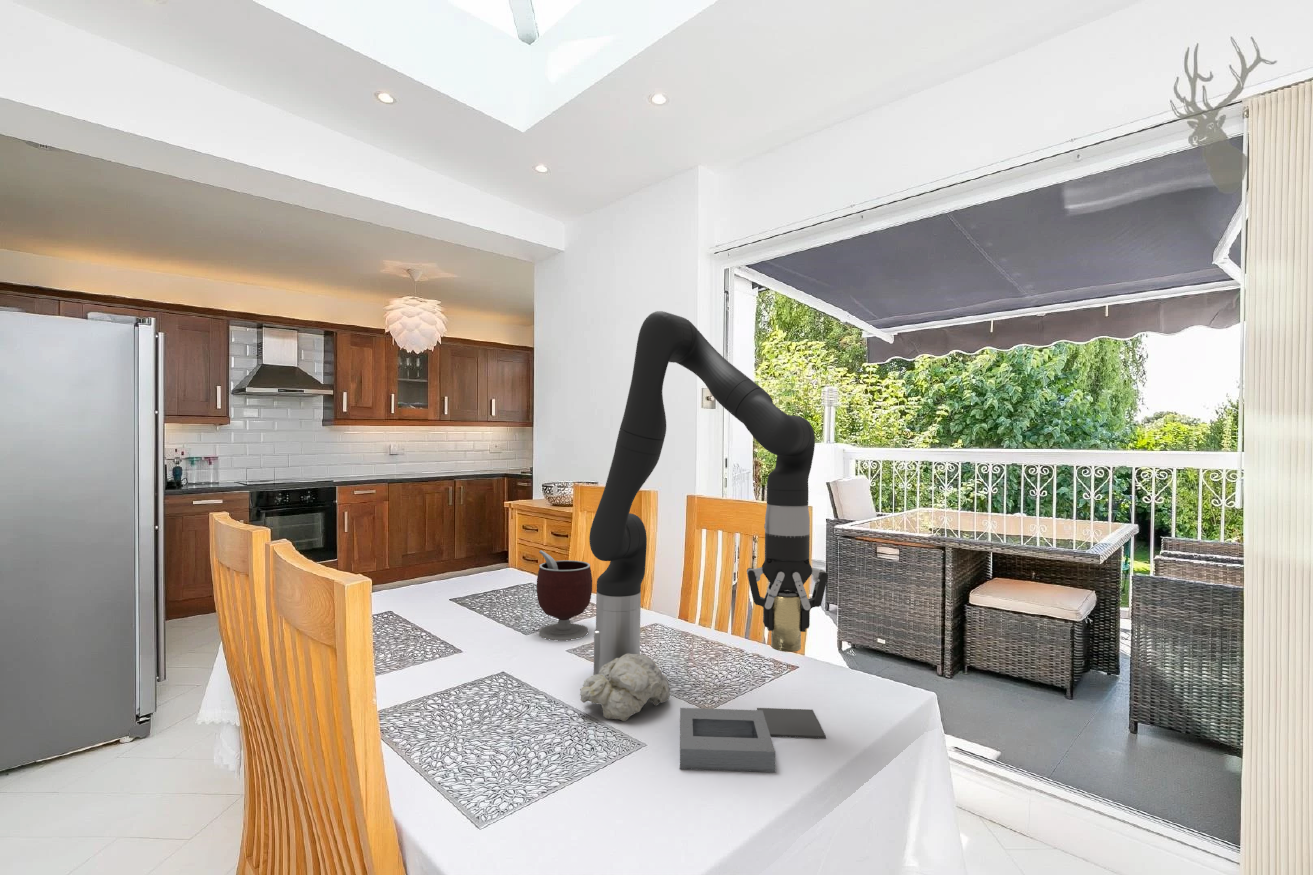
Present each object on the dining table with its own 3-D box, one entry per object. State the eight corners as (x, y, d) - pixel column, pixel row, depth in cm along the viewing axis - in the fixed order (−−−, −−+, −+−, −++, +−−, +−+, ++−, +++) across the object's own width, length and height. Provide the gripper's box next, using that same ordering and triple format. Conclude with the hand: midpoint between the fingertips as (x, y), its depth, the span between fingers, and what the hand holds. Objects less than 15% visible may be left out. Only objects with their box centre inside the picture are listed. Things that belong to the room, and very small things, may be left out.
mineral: (570, 685, 114) (574, 647, 110) (655, 669, 121) (663, 632, 116) (585, 744, 104) (591, 704, 100) (678, 723, 111) (687, 685, 106)
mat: (764, 736, 100) (764, 733, 100) (757, 709, 110) (757, 707, 110) (825, 738, 100) (825, 735, 100) (812, 711, 110) (812, 709, 110)
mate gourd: (602, 630, 156) (603, 552, 156) (566, 645, 144) (568, 561, 144) (556, 620, 164) (558, 546, 164) (519, 633, 152) (520, 553, 153)
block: (679, 768, 90) (680, 748, 90) (679, 725, 104) (680, 707, 104) (775, 772, 89) (775, 751, 89) (762, 727, 103) (762, 710, 103)
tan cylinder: (773, 651, 102) (773, 594, 102) (769, 641, 107) (769, 587, 107) (803, 652, 102) (803, 594, 102) (798, 642, 107) (798, 587, 107)
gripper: (747, 533, 101) (746, 635, 101) (834, 534, 100) (833, 638, 100) (743, 527, 109) (742, 622, 109) (824, 528, 108) (823, 624, 108)
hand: (786, 629), depth 104 cm, fingers closed on tan cylinder, 5 cm apart
